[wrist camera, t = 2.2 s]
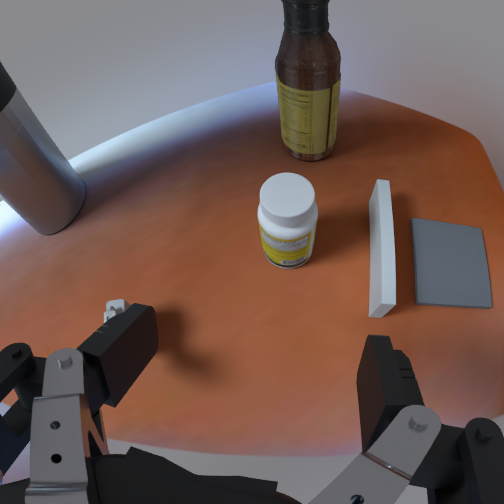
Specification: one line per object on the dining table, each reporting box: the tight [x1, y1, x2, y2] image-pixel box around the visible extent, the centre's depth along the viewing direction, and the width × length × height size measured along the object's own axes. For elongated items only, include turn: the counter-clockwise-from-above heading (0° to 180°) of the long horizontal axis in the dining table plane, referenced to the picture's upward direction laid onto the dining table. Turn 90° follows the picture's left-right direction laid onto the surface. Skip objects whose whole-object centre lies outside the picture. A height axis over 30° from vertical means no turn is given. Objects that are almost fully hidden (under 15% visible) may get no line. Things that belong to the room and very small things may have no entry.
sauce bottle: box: [275, 0, 341, 161], centre depth 26 cm, size 6×6×20 cm
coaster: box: [411, 218, 492, 309], centre depth 26 cm, size 9×9×1 cm
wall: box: [369, 179, 396, 318], centre depth 26 cm, size 1×12×4 cm, turn 170°
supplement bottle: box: [258, 173, 318, 269], centre depth 26 cm, size 5×5×8 cm
